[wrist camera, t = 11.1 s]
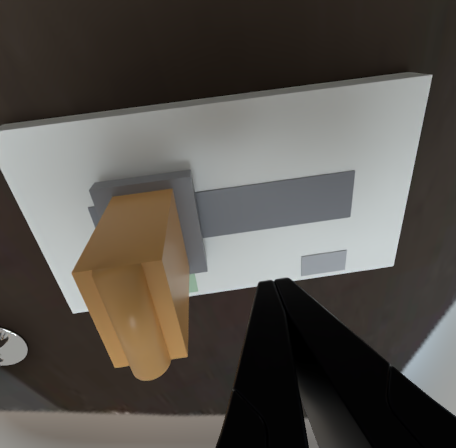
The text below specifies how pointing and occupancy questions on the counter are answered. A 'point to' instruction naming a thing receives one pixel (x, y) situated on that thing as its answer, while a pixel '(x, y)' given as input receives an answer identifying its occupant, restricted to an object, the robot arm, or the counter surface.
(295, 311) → the robot arm
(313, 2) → the counter surface
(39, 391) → the counter surface
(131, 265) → the toggle
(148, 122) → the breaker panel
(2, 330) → the wineglass
